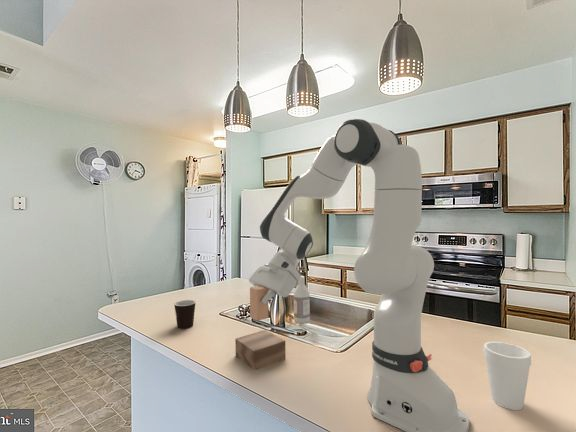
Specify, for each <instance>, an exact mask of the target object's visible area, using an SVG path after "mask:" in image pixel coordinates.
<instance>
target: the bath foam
mask: <svg viewBox="0 0 576 432" xmlns="http://www.w3.org/2000/svg"><path fill="white" fill-rule="evenodd" d="M305 277H306V276H305V275H301V278H300V279H299V280H298V281H297V285H296V286H295V287H296V288H295V289H294V292H293V322H294V323H295V324H299V325H306V324H309V323H310V322H311V313H310V311H311V309H310V292H309V289H308V287H307V286H306V283H305V282H306V281H305Z"/></svg>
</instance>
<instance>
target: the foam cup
mask: <svg viewBox="0 0 576 432" xmlns="http://www.w3.org/2000/svg"><path fill="white" fill-rule="evenodd" d="M483 355H484V358H485V362H486V363H485V364H486V369H487V376H488V381H489V382H488V383H489V387H490V388H489V389H490V394H491V400H492V401H493V402H494V403H495V404H496V405H498V406H500V407H502V408H505V409H507V410H511V411H512V410H513V411H519V410H522V409H523V408H524V405H525V399H526V392H527V386H528V380H529V372H530V367H531V366H532V355H531V352H530V351H529V350H527V349H525V347H522V346H519V345H516V344H512V343H508V342H504V341H495V340H494V341H487V342H485V343H483Z"/></svg>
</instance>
